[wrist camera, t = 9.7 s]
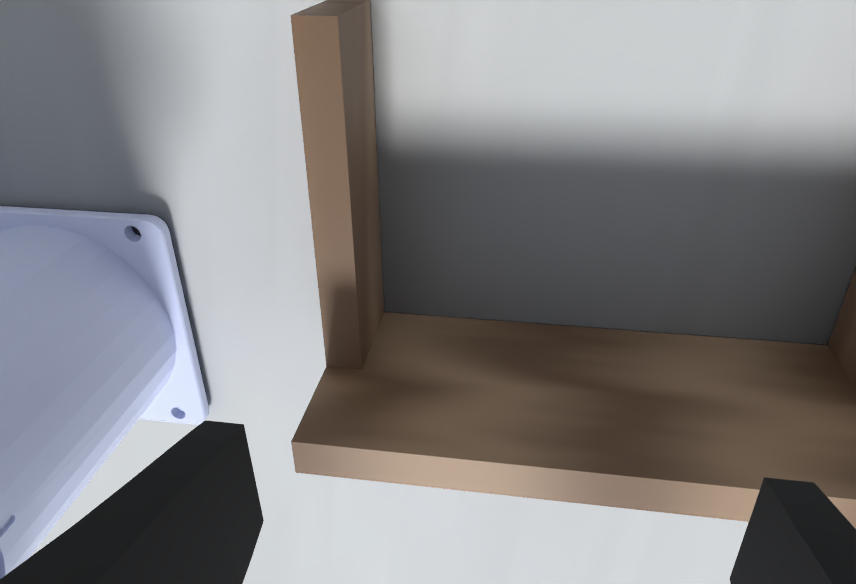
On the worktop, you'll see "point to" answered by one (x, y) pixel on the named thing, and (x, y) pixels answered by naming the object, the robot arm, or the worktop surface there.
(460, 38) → the worktop surface
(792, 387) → the walnut bay
